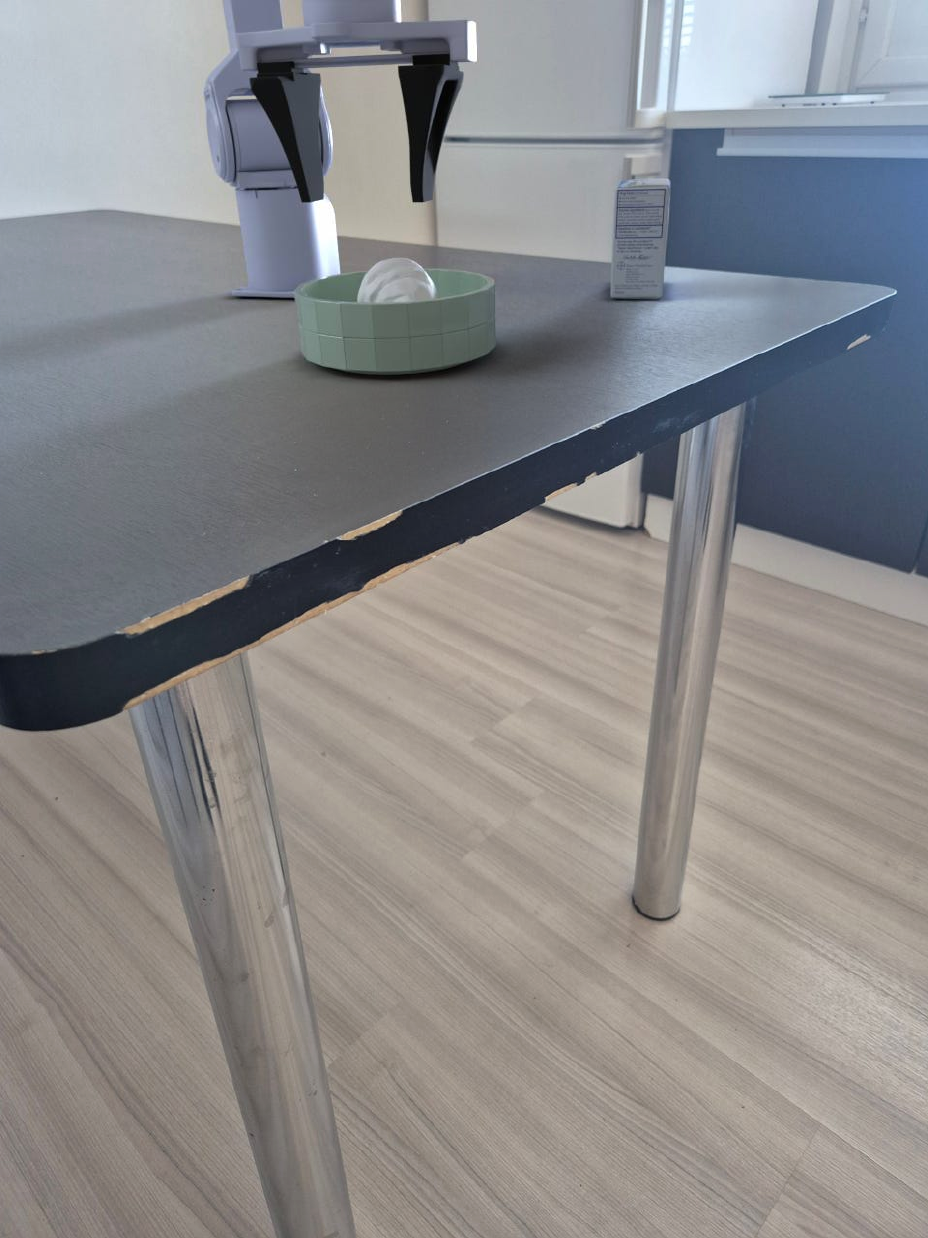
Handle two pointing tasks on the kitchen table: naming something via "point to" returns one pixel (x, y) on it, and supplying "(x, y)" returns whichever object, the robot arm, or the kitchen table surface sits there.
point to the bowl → (396, 324)
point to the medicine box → (639, 238)
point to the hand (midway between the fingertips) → (366, 201)
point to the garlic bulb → (396, 282)
